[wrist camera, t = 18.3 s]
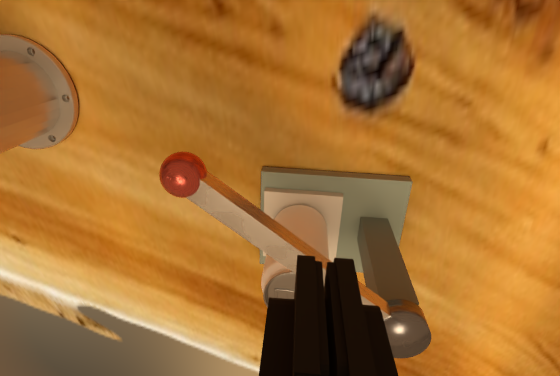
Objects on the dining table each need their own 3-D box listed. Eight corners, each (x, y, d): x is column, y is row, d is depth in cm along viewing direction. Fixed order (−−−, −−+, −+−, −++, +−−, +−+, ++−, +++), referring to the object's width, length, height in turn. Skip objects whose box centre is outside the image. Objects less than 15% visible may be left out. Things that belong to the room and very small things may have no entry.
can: (327, 249, 44) (331, 325, 33) (274, 249, 45) (261, 324, 34) (326, 202, 41) (331, 268, 30) (270, 203, 42) (255, 268, 31)
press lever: (433, 313, 30) (445, 344, 28) (395, 340, 32) (402, 372, 29) (188, 130, 25) (171, 144, 23) (157, 174, 27) (139, 192, 24)
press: (261, 256, 48) (239, 354, 34) (263, 166, 43) (237, 238, 29) (390, 267, 47) (422, 372, 33) (409, 176, 42) (457, 256, 28)
